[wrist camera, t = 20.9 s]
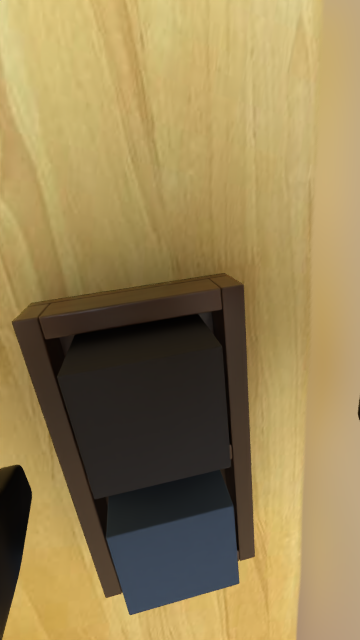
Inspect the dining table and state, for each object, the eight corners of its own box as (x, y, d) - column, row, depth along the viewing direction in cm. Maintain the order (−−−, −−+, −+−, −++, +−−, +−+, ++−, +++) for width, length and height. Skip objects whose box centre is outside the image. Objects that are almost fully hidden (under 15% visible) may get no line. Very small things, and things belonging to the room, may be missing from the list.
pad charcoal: (198, 312, 15) (222, 346, 11) (208, 411, 17) (231, 467, 13) (74, 333, 14) (56, 377, 10) (101, 434, 16) (94, 500, 12)
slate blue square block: (211, 444, 18) (233, 506, 14) (218, 514, 20) (239, 584, 16) (109, 467, 17) (105, 538, 13) (128, 538, 19) (129, 615, 15)
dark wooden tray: (224, 272, 15) (244, 284, 12) (240, 518, 21) (255, 557, 19) (30, 302, 14) (10, 321, 11) (107, 552, 20) (105, 598, 18)
